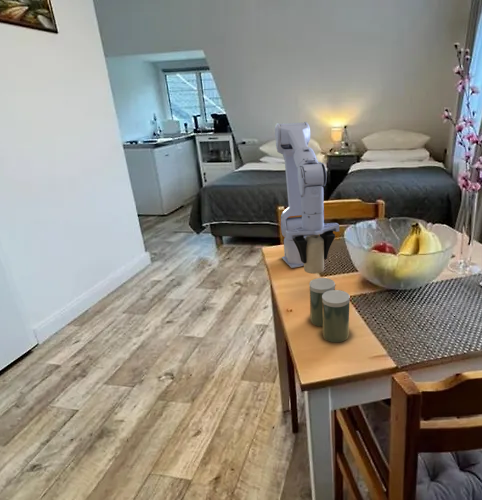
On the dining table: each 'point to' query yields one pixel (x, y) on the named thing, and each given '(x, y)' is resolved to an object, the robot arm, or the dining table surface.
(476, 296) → the dining table surface
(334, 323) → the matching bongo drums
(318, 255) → the candle
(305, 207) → the robot arm
